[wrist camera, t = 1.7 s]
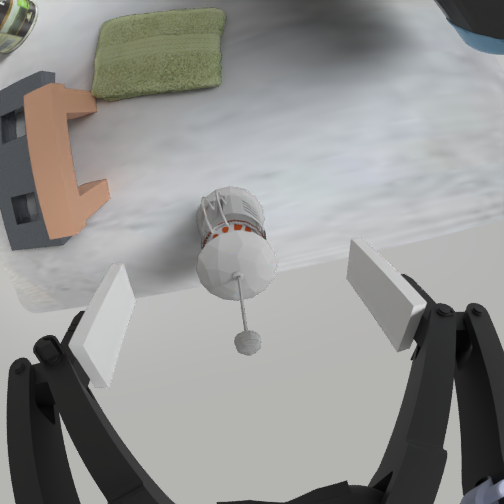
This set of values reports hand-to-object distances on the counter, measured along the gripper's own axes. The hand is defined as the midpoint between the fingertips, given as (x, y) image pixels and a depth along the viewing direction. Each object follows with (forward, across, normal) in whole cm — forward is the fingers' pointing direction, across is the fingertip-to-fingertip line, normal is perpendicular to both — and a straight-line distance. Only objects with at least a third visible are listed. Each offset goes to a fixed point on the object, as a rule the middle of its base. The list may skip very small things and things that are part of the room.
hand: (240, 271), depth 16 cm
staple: (+25, -19, +7) cm, 32 cm away
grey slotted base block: (+25, -31, +8) cm, 40 cm away
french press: (+25, 0, -5) cm, 25 cm away
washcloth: (+25, -8, +19) cm, 33 cm away
